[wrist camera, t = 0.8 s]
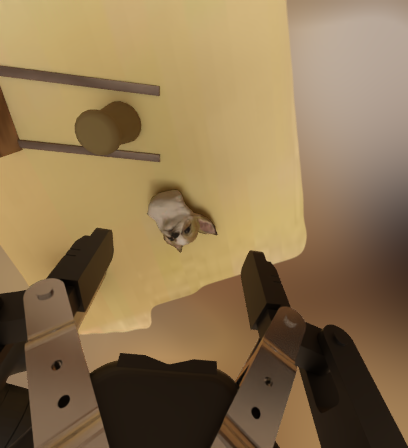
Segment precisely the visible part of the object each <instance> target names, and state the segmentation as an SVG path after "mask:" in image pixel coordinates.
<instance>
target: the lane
mask: <svg viewBox="0 0 408 448" xmlns="http://www.w3.org/2000/svg"><path fill="white" fill-rule="evenodd" d="M0 76H5V77H13V78H21V79H29V80H37V81H45V82H53V83H61V84H69V85H77V86H84V87H92V88H100V89H108V90H116V91H124V92H132V93H140V94H148V95H156V96H160V94H159V86H152V85H145V84H137V83H129V82H121V81H114V80H106V79H98V78H91V77H83V76H75V75H68V74H60V73H52V72H44V71H37V70H29V69H21V68H14V67H6V66H0ZM22 148H27V149H37V150H46V151H56V152H66V153H76V154H86V155H95V156H105V157H115V158H125V159H135V160H144V161H154V162H160V155H159V154H150V153H140V152H131V151H121V150H116V151H114V152H113V153H111V154H109V155H96V154H93V153H91V152H89V151H88V150H86V149H85V148H84V147H83V146H74V145H64V144H55V143H45V142H35V141H26V140H19V138H18V135H17V133H16V130H15V127H14V124H13V121H12V118H11V116H10V113H9V110H8V107H7V104H6V102H5V99H4V96H3V93H2V90H1V88H0V157H3V156H6V155H9V154H12V153H14V152H17V151H20V150H23V149H22Z"/></svg>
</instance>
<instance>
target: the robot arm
mask: <svg viewBox="0 0 408 448" xmlns="http://www.w3.org/2000/svg"><path fill="white" fill-rule="evenodd" d="M113 252H114V248H113V234H112V230H108V229H102V228H96V229H95V230H94V232H93V233H92V234H91V236H83V237H82V238H80V239H78V240H77V241H76V242H75V243H74V244H73V245H72V247H71V248H70V250H68V252H67V253H66V255H65V256H64V257H63V258H62V259H61V261H60V262H59V263H58V264H57V266H56V267H55V268H54V269H53V271H52V272H51V273H50V274H49V276H48V277H47V278H46V279H44V280H41V281H38V282H36V283H34V284H33V285H31V286H30V287H29V288H28V289H27V290H24V291H18V292H11V293H3V294H0V448H280V447H279V446H278V444H277V443H276V441H275V439H276V436H277V433H278V429H279V426H280V423H281V420H282V417H283V413H284V410H285V407H286V404H287V401H288V397H289V394H290V391H291V388H292V384H293V381H294V378H295V375H296V371H297V366H298V367H299V370H300V373H301V377H302V380H303V384H304V388H305V391H306V395H307V398H308V402H309V406H310V409H311V413H312V416H313V420H314V423H315V426H316V430H317V434H318V438H319V441H320V444H321V448H408V446H407V444H406V442H405V440H404V438H403V436H402V434H401V432H400V431H399V428H398V427H397V425H396V423H395V421H394V419H393V417H392V416H391V413H390V411H389V409H388V407H387V405H386V403H385V402H384V400H383V398H382V396H381V394H380V392H379V390H378V388H377V386H376V384H375V382H374V380H373V378H372V377H371V375H370V373H369V371H368V369H367V367H366V365H365V363H364V361H363V359H362V357H361V356H360V353H359V352H358V350H357V348H356V346H355V344H354V342H353V340H352V339H351V337H350V336H349V335H348V334H347V333H346V332H345V331H344V330H342V329H341V328H339V327H337V326H335V325H327V326H325V327H324V328H323V329H321V328H318V327H316V326H314V325H311V324H309V323H307V322H305V320H304V319H303V317H302V316H301V315H300V314H299V313H298V312H297V311H296V310H294V309H293V308H291V307H290V304H289V302H288V299H287V296H286V294H285V291H284V289H283V286H282V284H281V281H280V278H279V275H278V273H277V270H276V269H275V267H274V266H273V265H272V263H271V262H268V261H266V259H265V256H264V253H263V252H258V251H252V250H250V251H249V253H248V255H247V257H246V260H245V262H244V264H243V267H242V270H241V280H242V286H243V291H244V296H245V301H246V307H247V312H248V317H249V322H250V328H251V329H253V330H258V333H259V338H258V341H257V342H256V344H255V346H254V348H253V350H252V351H251V353H250V355H249V357H248V359H247V361H246V363H245V365H244V366H243V368H242V370H241V372H240V373H239V375H238V377H237V378H236V380H235V381H234V380H233V379H232V378H231V377H230V376H228V375H227V374H226V373H224V372H222V371H221V370H218V369H217V363H216V361H206V360H195V359H194V360H189V361H184V362H179V363H175V364H166V363H163V362H161V361H158V360H156V359H153V358H151V357H148V356H146V355H137V354H125V353H120V356H119V359H118V361H114V362H110V363H107V364H105V365H103V366H101V367H99V368H97V369H96V370H94V371H93V372H91V373H89V370H88V366H87V363H86V359H85V356H84V352H83V349H82V345H81V341H80V338H79V334H78V329H79V327H80V325H81V323H82V321H83V319H84V317H85V315H86V314H87V312H88V310H89V308H90V306H91V304H92V302H93V300H94V298H95V296H96V294H97V292H98V290H99V288H100V286H101V284H102V281H103V279H104V277H105V275H106V270H107V268H108V266H109V264H110V262H111V260H112V258H113ZM23 371H27V378H28V389H26V388H23V387H19V386H15V385H12V384H8V383H6V380H7V378H8V377H9V376H10V375H13V374H16V373H19V372H23Z"/></svg>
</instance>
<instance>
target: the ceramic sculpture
mask: <svg viewBox="0 0 408 448" xmlns="http://www.w3.org/2000/svg"><path fill="white" fill-rule="evenodd" d="M147 214H148V215H149V216H150V217H151V218H152V219H154V220H155V221H156V223H157V226H158V228H159V229H160V231H161V233H163V236H164V240H165V241H166V242H167V243H168V244H170V245H172V246H174V247H175V248H177V250H178V251H179V252H180V253H181V252H182V247H183V245H186V244H189V243H191V242H192V241H194V240H195V239H196V237H197V234H198V232H199V233H203V234H214V235H218V234H217V232H216V229H215V226H214V224H213V223H212V221H211V220H210V219H208V218H207V217H205V216H203V215H200V214H197V213H193V212H192V210H191V209H190V208H188V207H187V206H186V204H185V203H184V201H183V198H182V195H181V193H180V192H179V191H178V190H170V191H165V192H161V193H158V194H157V195H155V196H153V197H152V199H151V201H150V203H149V207H148V213H147Z"/></svg>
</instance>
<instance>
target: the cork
mask: <svg viewBox="0 0 408 448" xmlns="http://www.w3.org/2000/svg"><path fill="white" fill-rule="evenodd" d="M140 131H141V121H140V118H139V116H138V114H137V112H136V111H135V110H134V108H133V107H131V106H130V105H128V104H127V103H124V102H121V101H117V102H112V103H110V104H108V105H107V106H106V107H104V108H103V109H101V110H87V111H85V112H83V113H82V114H81V115H80V116H79V117H78V118H77V120H76V123H75V133H76V136H77V139H78V140H79V142H80V144H81V145H82V146H83V147H84V148H85V149H86V150H88V151H89V152H91V153H93V154H96V155H109V154H111V153H113V152H114V151H116V150H117V149H118V148H119V145H121V144H125V143H128V142H131V141H134V140H135V139H136V138H137V137H138V136H139V134H140Z"/></svg>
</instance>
